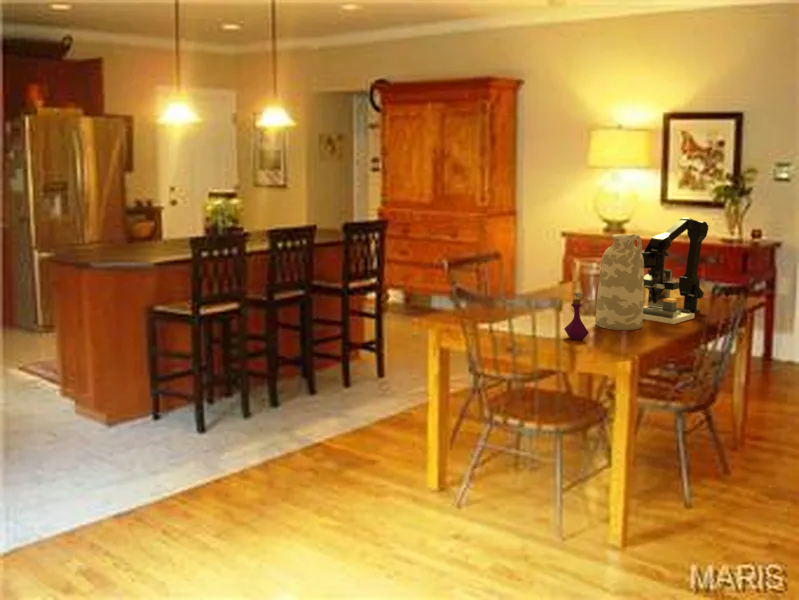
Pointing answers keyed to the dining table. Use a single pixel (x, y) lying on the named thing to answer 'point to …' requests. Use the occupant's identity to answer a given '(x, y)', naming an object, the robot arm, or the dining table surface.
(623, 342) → the dining table surface
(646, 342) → the dining table surface
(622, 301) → the vase
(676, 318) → the panel
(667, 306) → the lever
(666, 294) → the coffee box
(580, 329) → the perfume bottle
